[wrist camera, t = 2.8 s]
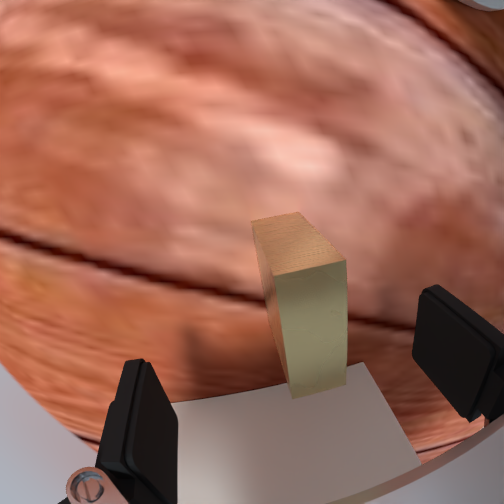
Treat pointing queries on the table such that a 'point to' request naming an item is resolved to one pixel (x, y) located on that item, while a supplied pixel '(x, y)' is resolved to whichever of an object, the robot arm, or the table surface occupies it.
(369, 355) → the table surface
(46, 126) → the table surface
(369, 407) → the grey slotted box
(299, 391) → the block
